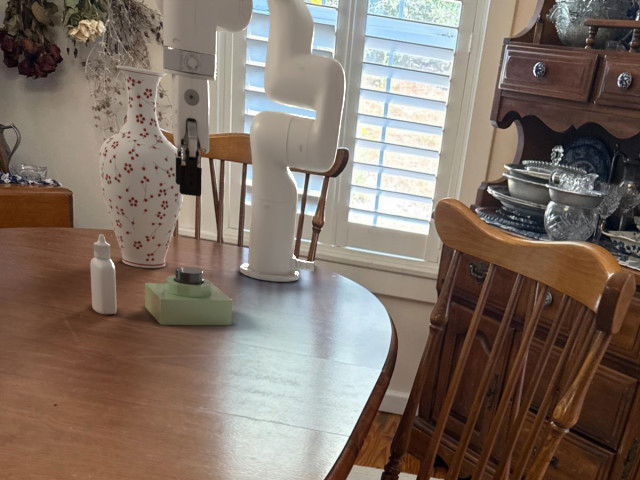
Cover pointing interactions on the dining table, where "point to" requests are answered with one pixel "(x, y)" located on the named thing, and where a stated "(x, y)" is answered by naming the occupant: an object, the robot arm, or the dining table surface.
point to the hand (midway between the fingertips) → (188, 189)
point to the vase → (141, 176)
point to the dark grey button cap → (188, 275)
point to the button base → (188, 303)
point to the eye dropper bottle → (103, 278)
